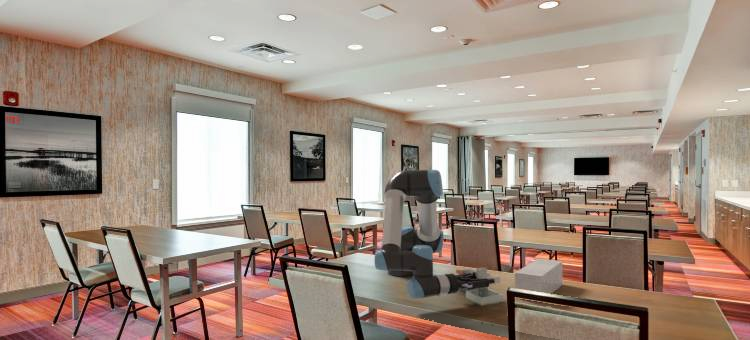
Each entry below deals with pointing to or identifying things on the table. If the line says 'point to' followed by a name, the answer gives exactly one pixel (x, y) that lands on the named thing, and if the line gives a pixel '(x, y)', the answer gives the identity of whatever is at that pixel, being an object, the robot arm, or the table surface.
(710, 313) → the table surface
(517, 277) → the light grey block
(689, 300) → the table surface
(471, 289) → the crank housing
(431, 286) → the robot arm
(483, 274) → the stop pin
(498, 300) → the parts tray
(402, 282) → the table surface
